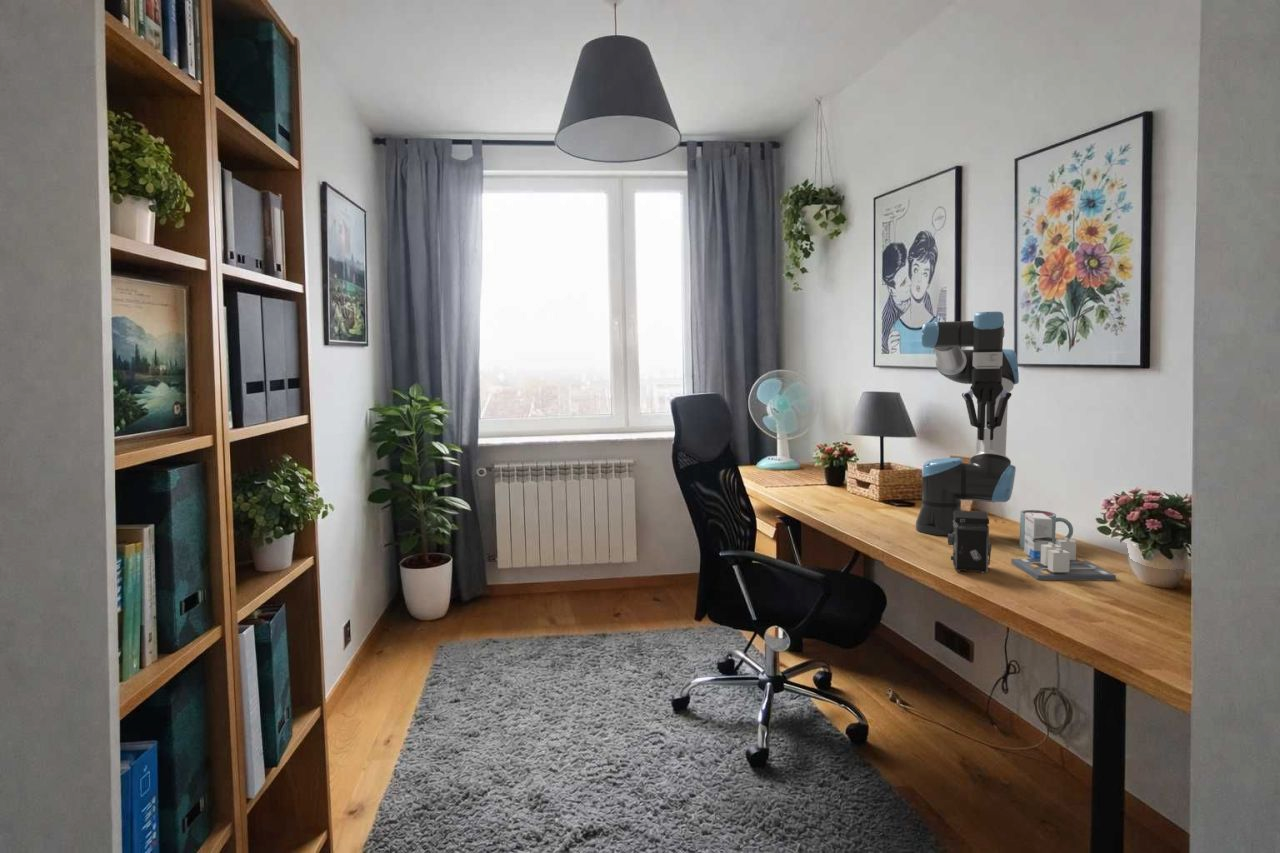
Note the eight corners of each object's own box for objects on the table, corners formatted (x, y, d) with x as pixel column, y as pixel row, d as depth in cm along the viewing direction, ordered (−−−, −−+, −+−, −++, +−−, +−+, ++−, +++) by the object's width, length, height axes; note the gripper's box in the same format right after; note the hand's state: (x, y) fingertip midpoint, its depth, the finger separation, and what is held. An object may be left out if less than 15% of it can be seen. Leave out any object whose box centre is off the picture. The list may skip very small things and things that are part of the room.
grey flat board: (1011, 563, 200) (1011, 557, 200) (1083, 562, 199) (1083, 557, 199) (1037, 579, 185) (1037, 573, 185) (1115, 579, 184) (1115, 573, 184)
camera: (987, 564, 200) (989, 509, 198) (992, 575, 190) (994, 518, 188) (946, 561, 203) (947, 507, 202) (948, 572, 193) (950, 516, 192)
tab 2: (1055, 557, 199) (1055, 536, 198) (1070, 557, 198) (1071, 536, 198) (1060, 559, 196) (1060, 539, 196) (1075, 559, 196) (1076, 539, 195)
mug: (1021, 549, 214) (1022, 515, 213) (1017, 541, 222) (1019, 509, 221) (1075, 553, 208) (1076, 518, 207) (1069, 545, 217) (1071, 512, 216)
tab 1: (1040, 563, 194) (1041, 542, 193) (1056, 563, 193) (1056, 542, 193) (1045, 565, 191) (1046, 544, 190) (1061, 565, 191) (1062, 544, 190)
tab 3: (1047, 569, 188) (1048, 547, 188) (1063, 569, 188) (1064, 547, 187) (1052, 572, 186) (1053, 550, 185) (1069, 572, 185) (1070, 550, 185)
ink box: (1052, 561, 201) (1054, 519, 200) (1032, 560, 202) (1034, 518, 201) (1042, 552, 210) (1043, 512, 209) (1023, 552, 211) (1024, 511, 210)
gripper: (968, 368, 201) (966, 453, 204) (1017, 367, 201) (1014, 453, 203) (958, 367, 209) (956, 450, 211) (1005, 367, 208) (1002, 449, 210)
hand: (984, 451), depth 207 cm, fingers closed
